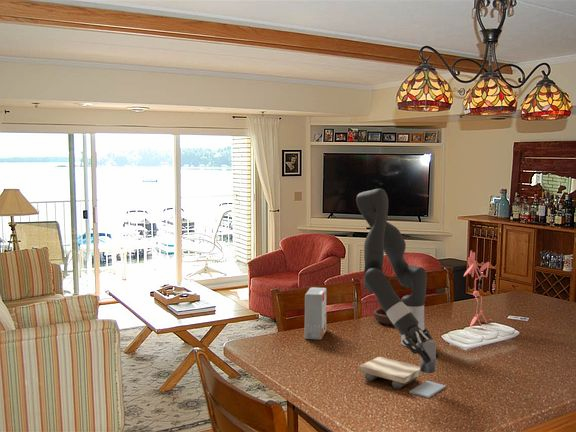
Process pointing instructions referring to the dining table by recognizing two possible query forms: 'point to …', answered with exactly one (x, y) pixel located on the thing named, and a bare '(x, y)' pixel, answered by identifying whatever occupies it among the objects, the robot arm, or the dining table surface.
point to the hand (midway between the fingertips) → (433, 359)
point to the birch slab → (390, 371)
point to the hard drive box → (315, 313)
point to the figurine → (471, 269)
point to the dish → (382, 316)
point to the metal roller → (431, 351)
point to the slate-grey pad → (427, 389)
